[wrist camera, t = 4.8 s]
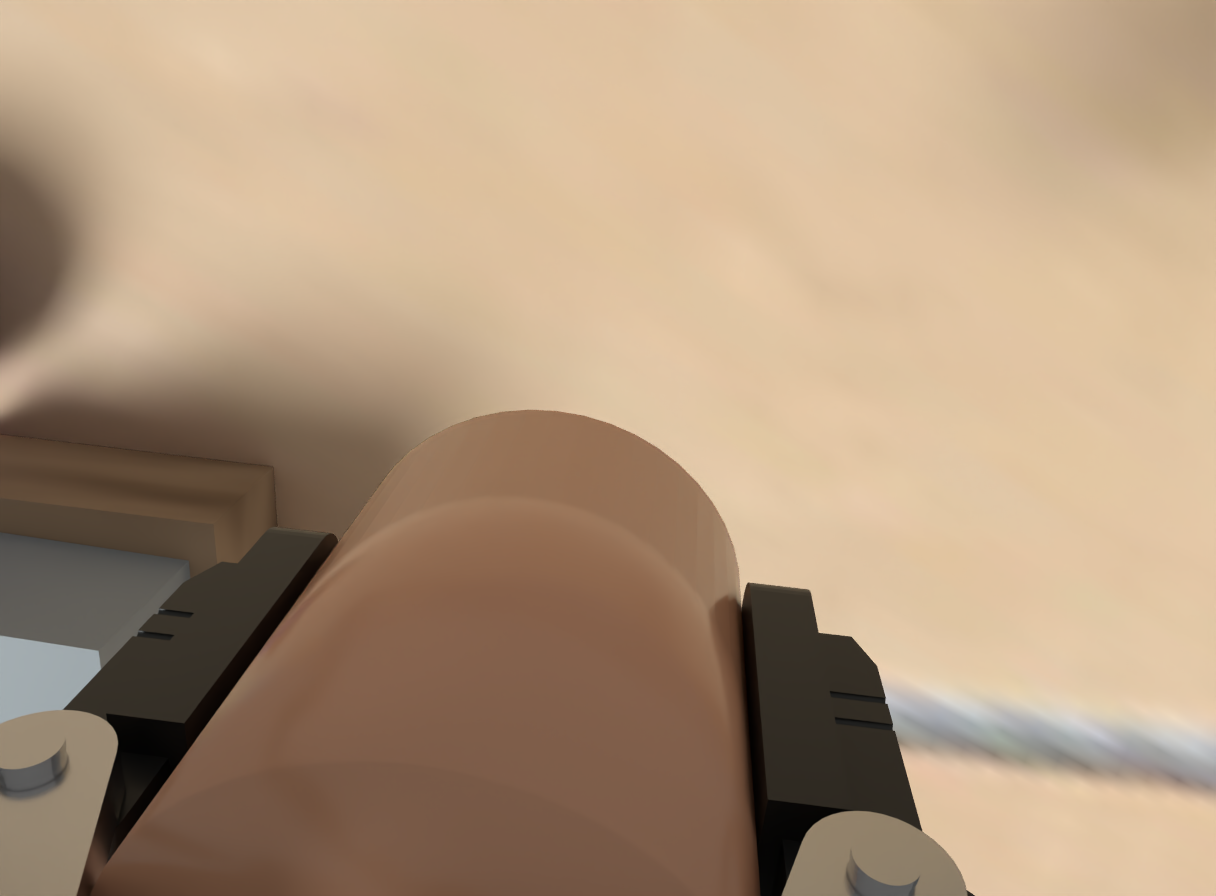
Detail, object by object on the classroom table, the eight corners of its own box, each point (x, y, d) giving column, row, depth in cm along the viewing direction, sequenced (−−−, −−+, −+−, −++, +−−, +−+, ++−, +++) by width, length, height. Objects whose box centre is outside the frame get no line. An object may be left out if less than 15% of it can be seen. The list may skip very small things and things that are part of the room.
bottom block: (-13, 426, 28) (-121, 482, 25) (279, 461, 28) (213, 524, 24) (34, 673, 32) (-53, 754, 28) (294, 708, 32) (239, 796, 28)
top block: (-69, 522, 25) (-202, 604, 21) (189, 560, 25) (98, 651, 21) (-27, 732, 28) (-139, 836, 24) (205, 769, 28) (128, 880, 24)
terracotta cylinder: (350, 388, 11) (24, 714, 6) (767, 434, 11) (827, 817, 6) (360, 720, 13) (124, 1192, 8) (714, 765, 13) (721, 1284, 8)
